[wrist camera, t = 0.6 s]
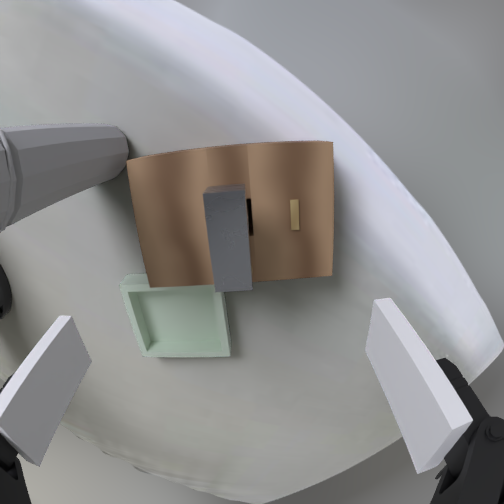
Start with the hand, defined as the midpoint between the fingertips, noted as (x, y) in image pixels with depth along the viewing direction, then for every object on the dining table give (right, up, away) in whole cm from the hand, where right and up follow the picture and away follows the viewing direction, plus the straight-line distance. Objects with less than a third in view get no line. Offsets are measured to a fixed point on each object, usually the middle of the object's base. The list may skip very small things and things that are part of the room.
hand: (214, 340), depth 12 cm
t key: (0, +9, +22) cm, 23 cm away
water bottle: (-17, +16, +20) cm, 31 cm away
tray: (-8, -4, +28) cm, 30 cm away
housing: (0, +9, +23) cm, 24 cm away
